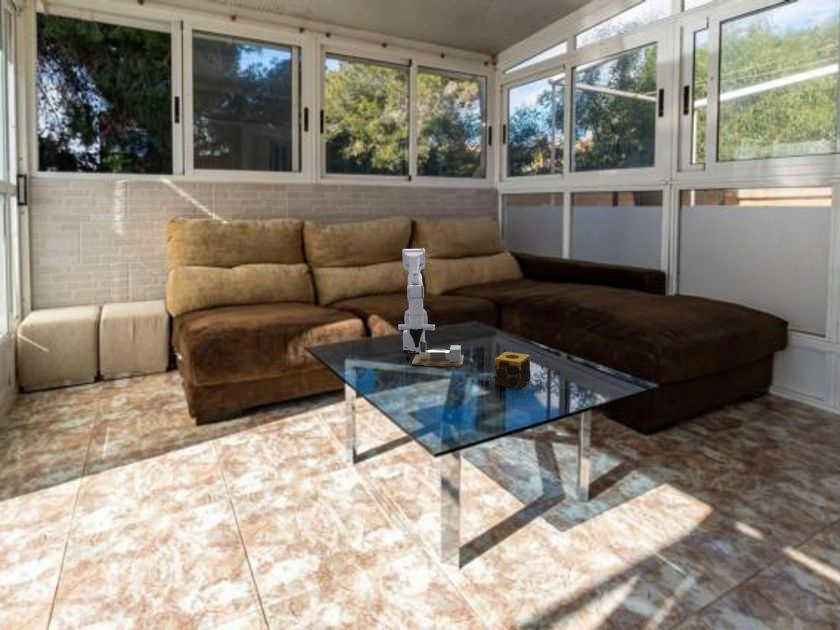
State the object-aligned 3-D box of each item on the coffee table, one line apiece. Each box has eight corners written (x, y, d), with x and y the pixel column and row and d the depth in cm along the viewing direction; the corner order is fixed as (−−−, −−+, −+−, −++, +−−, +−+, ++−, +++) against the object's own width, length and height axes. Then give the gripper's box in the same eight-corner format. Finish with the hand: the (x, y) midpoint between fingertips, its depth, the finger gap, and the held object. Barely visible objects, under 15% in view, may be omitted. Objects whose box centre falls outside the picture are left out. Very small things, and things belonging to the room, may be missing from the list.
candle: (520, 390, 193) (520, 362, 191) (493, 385, 199) (493, 358, 196) (531, 381, 202) (531, 354, 200) (505, 377, 207) (505, 351, 205)
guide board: (411, 365, 223) (411, 363, 223) (416, 356, 234) (415, 354, 234) (462, 366, 220) (462, 364, 220) (463, 357, 232) (463, 355, 231)
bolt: (419, 359, 226) (419, 342, 225) (420, 357, 229) (420, 340, 228) (449, 359, 225) (449, 342, 223) (449, 357, 228) (449, 340, 226)
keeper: (450, 361, 223) (449, 349, 222) (451, 357, 229) (451, 345, 228) (460, 361, 223) (459, 349, 222) (460, 357, 229) (460, 345, 228)
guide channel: (430, 360, 225) (430, 352, 224) (431, 357, 230) (431, 348, 229) (445, 361, 224) (445, 352, 224) (446, 357, 229) (446, 349, 228)
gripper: (396, 316, 221) (397, 349, 224) (433, 316, 219) (433, 350, 222) (399, 312, 228) (400, 344, 231) (435, 312, 226) (435, 345, 229)
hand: (417, 347), depth 227 cm, fingers closed
